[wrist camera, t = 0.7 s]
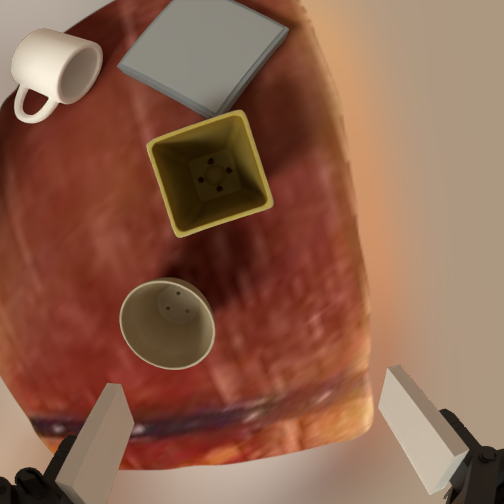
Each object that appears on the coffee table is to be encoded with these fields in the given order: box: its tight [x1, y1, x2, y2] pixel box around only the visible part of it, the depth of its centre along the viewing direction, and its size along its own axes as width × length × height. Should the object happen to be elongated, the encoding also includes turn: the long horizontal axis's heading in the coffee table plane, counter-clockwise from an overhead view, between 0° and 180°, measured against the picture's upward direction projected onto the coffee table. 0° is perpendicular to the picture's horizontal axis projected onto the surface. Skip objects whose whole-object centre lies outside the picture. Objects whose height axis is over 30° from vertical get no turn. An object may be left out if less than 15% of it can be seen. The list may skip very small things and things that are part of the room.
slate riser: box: [117, 0, 289, 119], centre depth 28 cm, size 14×14×3 cm
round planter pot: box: [120, 277, 215, 370], centre depth 32 cm, size 10×10×7 cm
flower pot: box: [147, 110, 274, 238], centre depth 28 cm, size 9×9×9 cm
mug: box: [11, 29, 103, 123], centre depth 25 cm, size 12×10×8 cm
